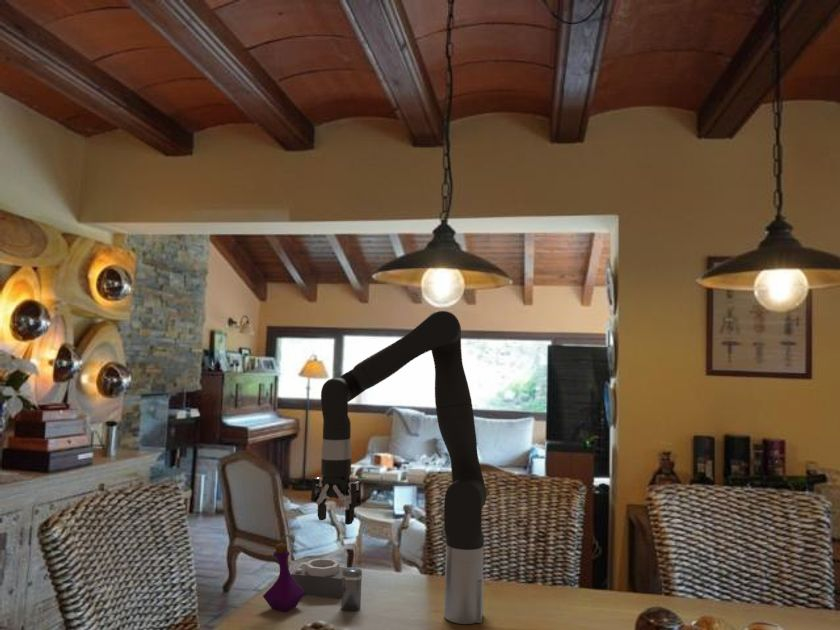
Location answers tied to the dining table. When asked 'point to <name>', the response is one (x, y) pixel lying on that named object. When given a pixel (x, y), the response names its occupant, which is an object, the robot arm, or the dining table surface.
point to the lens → (351, 589)
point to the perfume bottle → (284, 582)
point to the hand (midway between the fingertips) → (335, 521)
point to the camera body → (320, 578)
